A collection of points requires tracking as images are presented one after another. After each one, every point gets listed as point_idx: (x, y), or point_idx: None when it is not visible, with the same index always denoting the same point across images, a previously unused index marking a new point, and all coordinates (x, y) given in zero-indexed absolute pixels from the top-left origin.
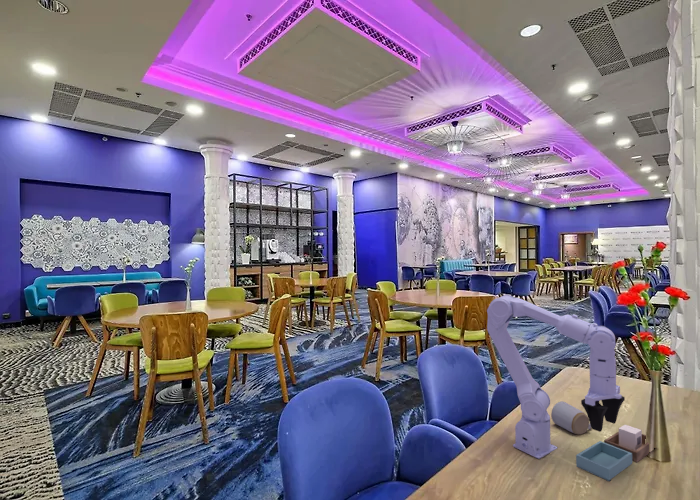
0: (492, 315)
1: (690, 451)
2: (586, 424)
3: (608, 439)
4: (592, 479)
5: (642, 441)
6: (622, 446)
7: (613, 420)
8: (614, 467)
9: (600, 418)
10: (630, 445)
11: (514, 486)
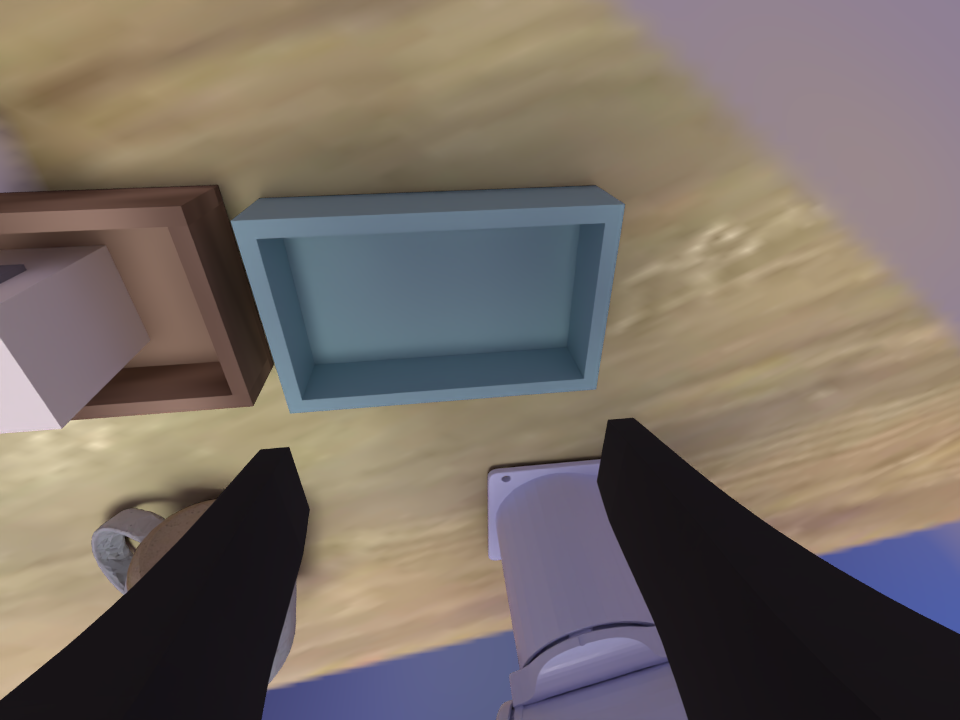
0: None
1: None
2: (174, 538)
3: (210, 399)
4: (641, 249)
5: None
6: (204, 308)
7: (280, 481)
8: (540, 204)
9: (795, 547)
10: (90, 296)
11: (919, 386)
